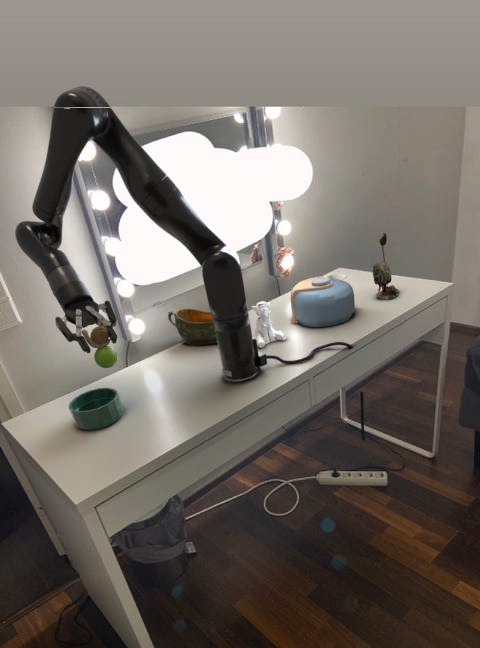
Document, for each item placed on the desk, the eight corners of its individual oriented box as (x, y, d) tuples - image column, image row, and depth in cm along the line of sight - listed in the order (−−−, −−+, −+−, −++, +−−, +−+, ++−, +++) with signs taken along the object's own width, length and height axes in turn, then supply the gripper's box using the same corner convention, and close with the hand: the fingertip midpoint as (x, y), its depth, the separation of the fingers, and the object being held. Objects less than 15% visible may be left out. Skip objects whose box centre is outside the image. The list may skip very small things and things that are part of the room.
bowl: (113, 401, 133) (106, 383, 130) (131, 416, 124) (125, 397, 121) (70, 420, 127) (62, 401, 125) (86, 437, 118) (78, 417, 116)
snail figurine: (91, 370, 121) (74, 324, 115) (113, 360, 124) (99, 314, 118) (100, 375, 117) (84, 328, 111) (124, 365, 121) (109, 318, 114)
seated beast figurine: (259, 349, 146) (253, 310, 140) (246, 341, 153) (240, 304, 147) (287, 339, 149) (282, 301, 143) (273, 332, 156) (268, 295, 149)
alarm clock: (316, 303, 172) (313, 268, 165) (366, 309, 158) (365, 272, 152) (281, 323, 161) (276, 287, 155) (332, 331, 148) (329, 292, 142)
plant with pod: (365, 300, 167) (363, 238, 156) (386, 289, 172) (385, 229, 162) (385, 303, 161) (384, 239, 150) (406, 292, 166) (406, 230, 156)
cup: (201, 327, 170) (195, 299, 165) (239, 338, 156) (233, 307, 151) (171, 341, 164) (164, 312, 159) (207, 353, 150) (200, 321, 145)
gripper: (39, 289, 113) (73, 349, 110) (97, 271, 119) (131, 328, 116) (41, 308, 119) (73, 365, 117) (96, 290, 125) (128, 344, 123)
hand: (102, 346), depth 116 cm, fingers closed on snail figurine, 6 cm apart
